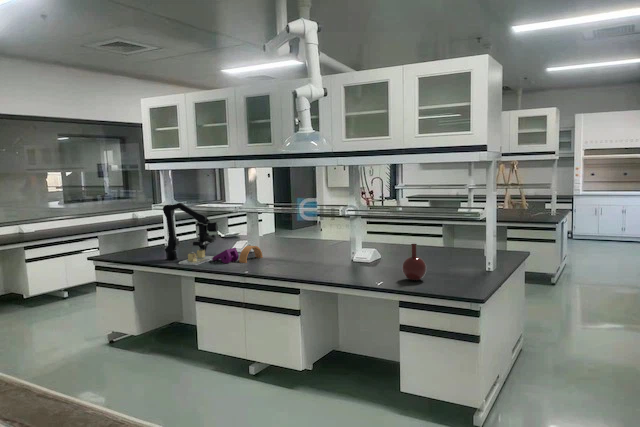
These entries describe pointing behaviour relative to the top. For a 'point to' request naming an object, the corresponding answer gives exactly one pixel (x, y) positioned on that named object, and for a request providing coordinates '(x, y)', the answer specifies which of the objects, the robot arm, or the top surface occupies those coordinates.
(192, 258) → the fixed leg
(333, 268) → the top surface
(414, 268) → the round-bottom flask
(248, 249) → the arch
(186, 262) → the pitch plate
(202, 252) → the sliding leg
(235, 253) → the mounting bracket
